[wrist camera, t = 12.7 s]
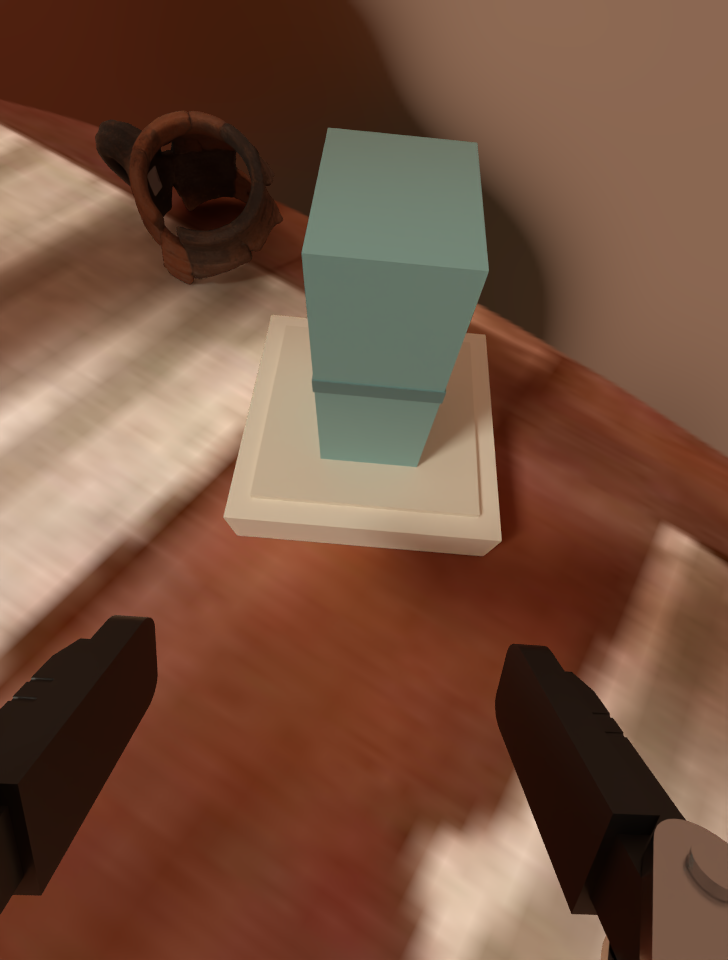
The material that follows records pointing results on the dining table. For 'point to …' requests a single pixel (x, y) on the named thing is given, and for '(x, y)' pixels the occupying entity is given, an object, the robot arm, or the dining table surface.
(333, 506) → the display plinth
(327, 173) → the teal rectangular box
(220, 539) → the dining table surface
